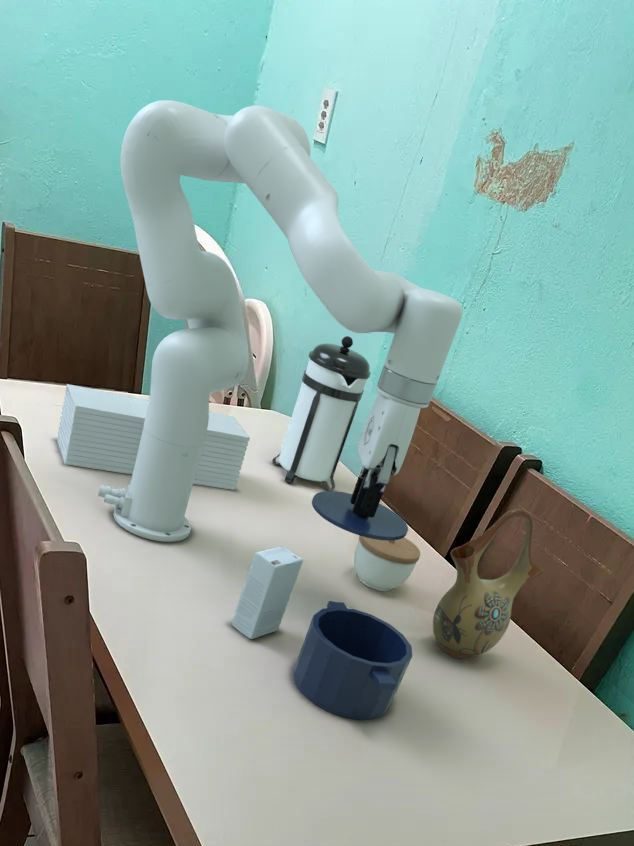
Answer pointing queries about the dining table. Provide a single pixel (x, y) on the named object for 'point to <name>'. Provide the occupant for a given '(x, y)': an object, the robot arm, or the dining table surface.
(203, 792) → the dining table surface
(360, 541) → the trinket box
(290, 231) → the robot arm
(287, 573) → the cosmetic box
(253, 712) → the dining table surface
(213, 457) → the white ridged box
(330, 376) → the coffee press
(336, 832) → the dining table surface
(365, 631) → the pot
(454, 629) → the ceramic vessel
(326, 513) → the lid
